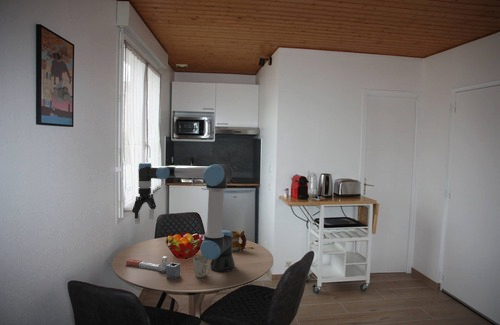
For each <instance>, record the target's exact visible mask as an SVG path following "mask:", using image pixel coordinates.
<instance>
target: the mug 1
mask: <svg viewBox="0 0 500 325" xmlns="http://www.w3.org/2000/svg"><path fill="white" fill-rule="evenodd" d="M208 260H209V259H206V258H205V257H204V256H203V255H197V256H194V257H193V258H192V262H193V271H194V272H193V273H194V276H195V277H196V278H203V277H205V276H209V274H210V272H211V268H210V266H209V264H208Z"/></svg>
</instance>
